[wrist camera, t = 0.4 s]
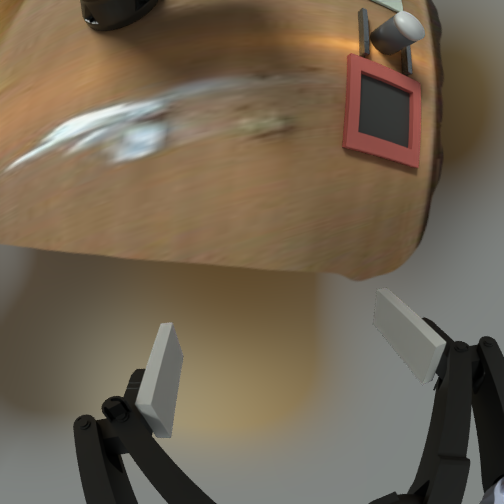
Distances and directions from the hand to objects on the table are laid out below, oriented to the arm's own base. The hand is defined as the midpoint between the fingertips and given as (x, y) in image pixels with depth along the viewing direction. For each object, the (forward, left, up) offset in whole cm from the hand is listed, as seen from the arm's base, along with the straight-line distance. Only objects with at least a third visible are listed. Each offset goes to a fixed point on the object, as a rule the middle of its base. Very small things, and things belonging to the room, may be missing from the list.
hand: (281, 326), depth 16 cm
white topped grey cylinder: (-34, +32, -27) cm, 54 cm away
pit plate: (-19, +28, -27) cm, 43 cm away
